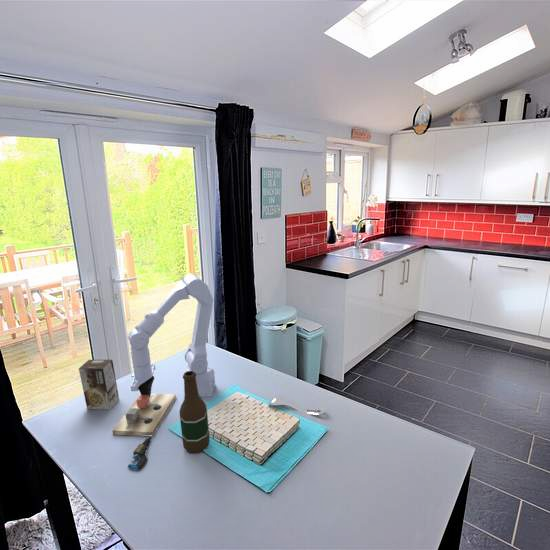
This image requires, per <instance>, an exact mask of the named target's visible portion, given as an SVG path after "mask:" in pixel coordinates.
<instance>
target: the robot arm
mask: <svg viewBox="0 0 550 550" xmlns="http://www.w3.org/2000/svg"><path fill="white" fill-rule="evenodd" d="M190 297H192V298H194V299H195V300H196V301H197V306H196V312H195V318H194V325H193V331H192V336H191V343H190V344H188V348H187V351H186V352H185V354H184V361H186V363H187V367H186V372H188V371H194V372H195V373H196V383H197V389H198V393H199V396H200V398H201V397H203V398H205V397H207V398H208V397H209V398H210V397H211V396H212V395H213V393H214V390H215V388H216V386H217V384H216V380H215V378H216V377H215V371H214V368H210V367H208V366H209V365H208V364H209V362H208V359H207V358H208V353H207V347H206V346H207V340H208V334H209V328H210V323H211V322H210V321H211V316H212V308H213V304H214V297H213V295H212V293H211V291H210V288H209V285H207V283H206V282H205V281H204V280H202V279H200V277H198V275H196V274H195V273H187V274H186V275H184V276H183V277H182V279H181V280H179V281H178V282H177V283H176V285H175V286H174V287H173V289H172V290H171V291H170V292H169V294H168V295H167V296H166V298H165V299H164V300H163V302H161V304H160V305H159V306H158V308H157V309H156V310H151V311H150V312H149V313H147V312H146V313H145V314H144V318H143V319H142V321H141V322H140V323H139V324H138V325H135V326H134V328H132V329H131V330H130V331H129V333H128V336H127V339H128V342H129V345H130V350H131V352H130V355H131V361H132V369H133V373H132V374H131V378H133V379H132V382H131V384H130V391H131V392H138V391H139V394H141V395H149V398H150V395H151V394H152V387H153V383H154V380H155V376H154V371H155V370H156V364H155V363H152V362H151V356H150V349H149V342H150V338H152V337H153V335H154V334H155V333H156V332H157V330H159V329H160V327H161V326H163V324H164V323H165V316H166V315H167V314H168V313H169V312H170V311H171V310H172V309H174V307H175V306H176V305H177V304H178V303H179V302H180V301H183V300H189V299H190Z"/></svg>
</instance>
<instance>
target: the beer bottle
mask: <svg viewBox="0 0 550 550" xmlns="http://www.w3.org/2000/svg"><path fill="white" fill-rule="evenodd" d="M182 379H183V386H184V388H183V389H184V390H183V392H184V398H183V400H182V403H181V405H180V408H179V423H180V430H181V437H182V439H181V440H182V445H183V449H184V450H185V451H186V453H188V454H192V455H194V454H196V455H197V454H201V453H202V452H204V451H205V450H204V449H206V448H207V447H209V444H210V429H209V419H208V418H209V417H208V416H209V415H208V409H207V408H208V407H207V404H206V402H205V401H204V400H203V398H201V397H200V396H199V393H198V389H197V383H196V373H195V372H194V371H188V372H187V371H185V372H184V373H183V375H182ZM207 449H208V448H207ZM207 449H206V450H207ZM203 450H204V451H203Z"/></svg>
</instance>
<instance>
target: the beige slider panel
mask: <svg viewBox="0 0 550 550" xmlns="http://www.w3.org/2000/svg"><path fill="white" fill-rule="evenodd" d="M139 394H140V395H141V393H139ZM140 395H139V396H140ZM137 399H138V397H137V398H136V399H135V401H134V402H133V403H132V405H131V406H130V407H129V408H128V410H126V412H125V414H124V415H123V416H122V417H121V418H120V420H119V421H118V422H117V423H116V425H115V426H114V428H112V435H117V436H120V435H121V436H137V435H153V434H154V435H155V433H156V432H157V430H158V429H157V428H159V427H160V425H161V424H160V423H162V422H163V420H164V419H163V418H165V417H166V415H167V414H168V412H169V411H170V409H171V407H172V406H173V404H174V402H175V401H176V399H177V395H176V393H175V394H174V393H151V395H150V398H149V401H150V403H158V405H159V406H147V407H146V408H138V407H137V401H136V400H137ZM171 405H172V406H171ZM169 408H170V409H169ZM168 410H169V411H168ZM166 413H167V414H166ZM161 421H162V422H161ZM158 426H159V427H158ZM156 429H157V430H156ZM155 431H156V432H155ZM154 432H155V433H154ZM154 435H153V436H154Z"/></svg>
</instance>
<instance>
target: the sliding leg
mask: <svg viewBox="0 0 550 550" xmlns="http://www.w3.org/2000/svg"><path fill="white" fill-rule="evenodd" d="M137 398H138V399H137ZM137 398H136V399H137V400H136V399H135V401H137V407H138V408H146V407H147V406H159V405H158V403H150V401H149V395H139V396H138V397H137Z"/></svg>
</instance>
